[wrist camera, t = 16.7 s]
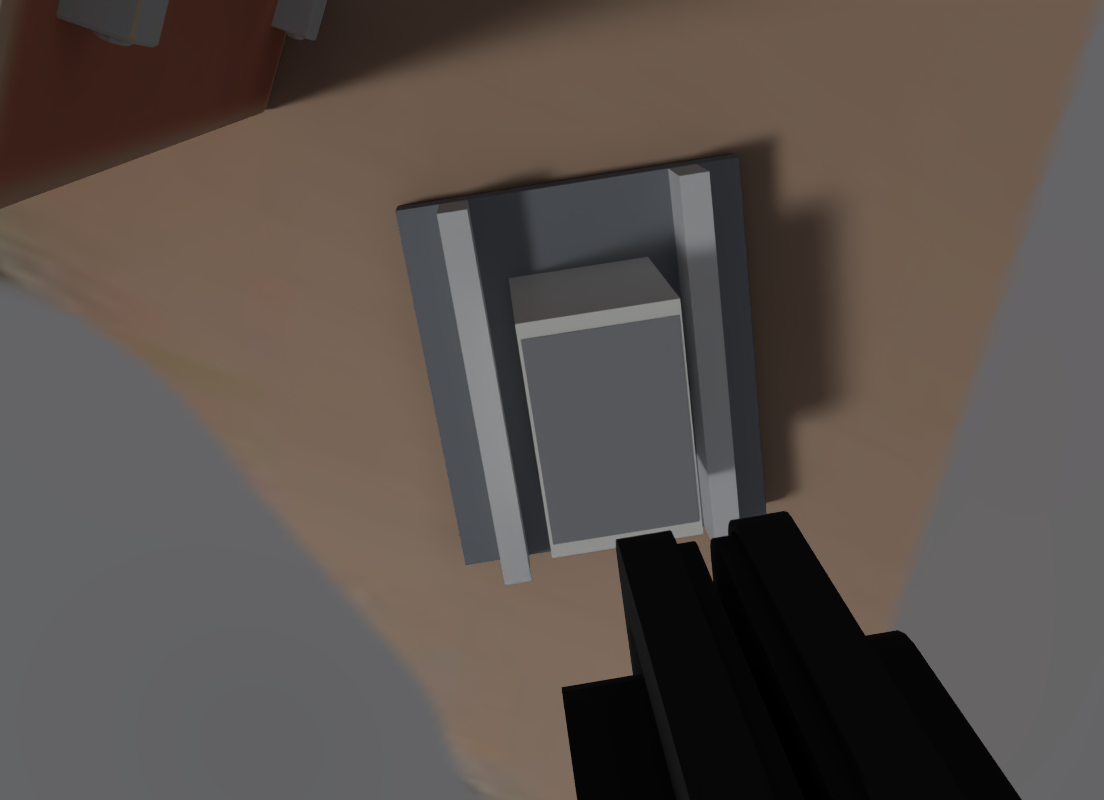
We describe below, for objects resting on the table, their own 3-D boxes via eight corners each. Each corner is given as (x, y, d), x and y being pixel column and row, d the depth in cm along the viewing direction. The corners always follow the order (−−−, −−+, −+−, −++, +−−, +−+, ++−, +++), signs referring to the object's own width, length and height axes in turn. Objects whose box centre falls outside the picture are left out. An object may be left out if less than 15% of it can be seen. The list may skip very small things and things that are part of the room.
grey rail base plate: (397, 206, 35) (390, 221, 32) (732, 154, 36) (754, 164, 33) (466, 552, 40) (465, 591, 37) (760, 504, 40) (781, 540, 38)
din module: (508, 278, 35) (515, 324, 30) (647, 256, 36) (680, 298, 30) (540, 481, 38) (552, 558, 33) (669, 460, 38) (703, 534, 33)
